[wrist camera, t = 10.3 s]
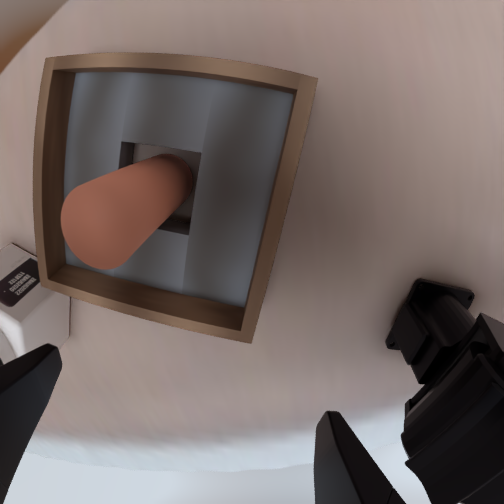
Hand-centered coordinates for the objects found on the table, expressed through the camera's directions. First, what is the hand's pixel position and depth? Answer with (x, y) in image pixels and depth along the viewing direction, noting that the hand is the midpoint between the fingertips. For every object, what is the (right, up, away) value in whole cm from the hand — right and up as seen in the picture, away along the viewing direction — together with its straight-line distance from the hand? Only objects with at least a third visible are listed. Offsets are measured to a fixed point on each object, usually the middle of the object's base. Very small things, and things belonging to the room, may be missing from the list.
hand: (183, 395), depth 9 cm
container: (-18, +1, +15) cm, 23 cm away
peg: (-3, +9, +11) cm, 14 cm away
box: (-4, +9, +11) cm, 14 cm away
